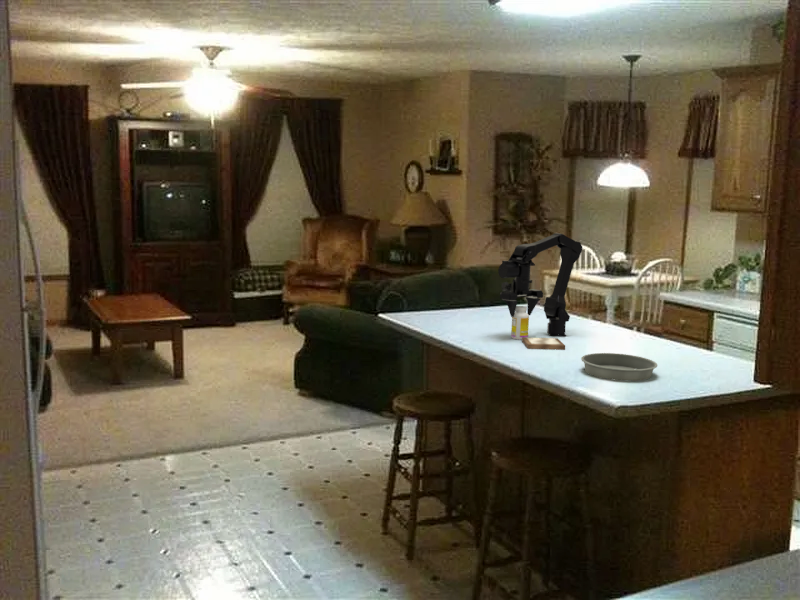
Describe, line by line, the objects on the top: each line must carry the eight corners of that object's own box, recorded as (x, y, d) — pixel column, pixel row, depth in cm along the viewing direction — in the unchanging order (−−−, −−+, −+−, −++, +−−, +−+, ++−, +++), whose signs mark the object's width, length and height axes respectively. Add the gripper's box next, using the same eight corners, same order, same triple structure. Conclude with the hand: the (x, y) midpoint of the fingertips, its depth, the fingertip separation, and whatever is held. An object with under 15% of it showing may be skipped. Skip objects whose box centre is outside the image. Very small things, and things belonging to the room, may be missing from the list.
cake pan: (611, 385, 260) (612, 371, 259) (565, 368, 282) (566, 355, 281) (672, 379, 270) (673, 366, 269) (624, 363, 292) (625, 351, 291)
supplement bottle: (529, 338, 332) (531, 306, 330) (525, 340, 326) (526, 308, 324) (513, 336, 335) (515, 305, 333) (508, 338, 329) (510, 307, 327)
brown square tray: (557, 342, 325) (557, 337, 325) (565, 349, 311) (565, 345, 311) (521, 341, 325) (522, 336, 324) (528, 348, 311) (528, 344, 311)
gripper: (525, 273, 339) (523, 311, 341) (491, 276, 328) (489, 314, 330) (544, 277, 330) (542, 315, 332) (510, 279, 319) (508, 319, 321)
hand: (520, 316), depth 329 cm, fingers open, 9 cm apart
